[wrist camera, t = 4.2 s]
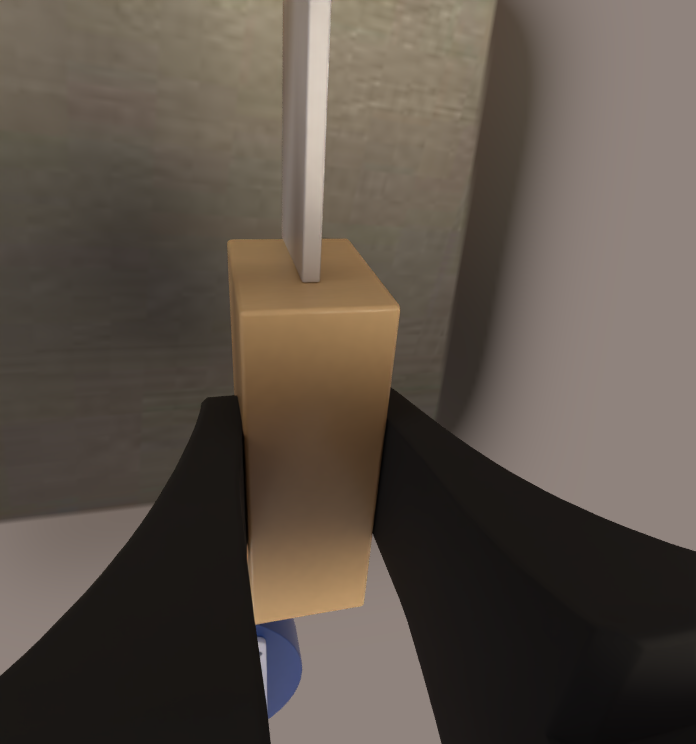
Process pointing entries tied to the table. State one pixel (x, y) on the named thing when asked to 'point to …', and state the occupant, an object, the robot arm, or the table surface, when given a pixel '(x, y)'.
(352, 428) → the cake knife
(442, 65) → the table surface
